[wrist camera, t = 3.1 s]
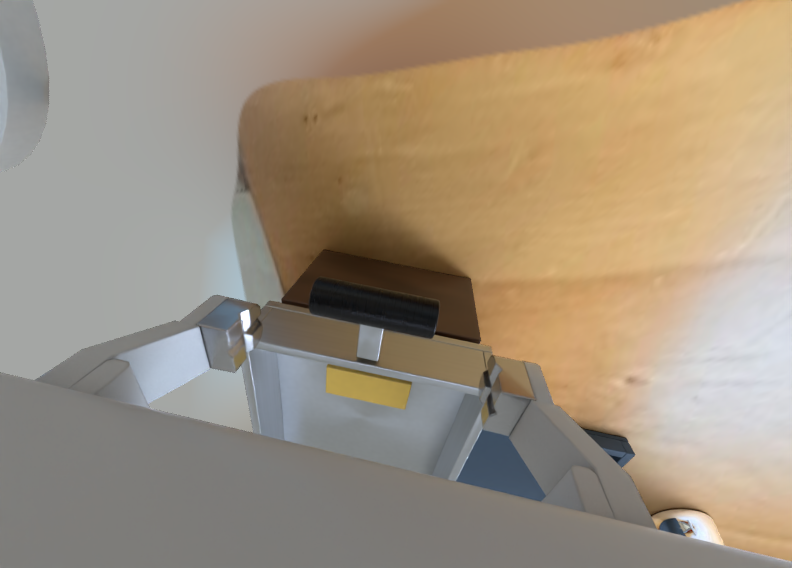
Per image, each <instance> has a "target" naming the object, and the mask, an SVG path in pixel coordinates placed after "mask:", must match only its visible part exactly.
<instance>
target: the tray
mask: <svg viewBox="0 0 792 568" xmlns="http://www.w3.org/2000/svg"><path fill="white" fill-rule="evenodd" d="M583 430H584V431H585V432H586V433H587V434H588V435H589V436H590V437H591V438H592V439H593V440H594V441H595V442H596V443H597V444H598V445H599V446H600V447H601V448H602V449H603V450H604V451H605V452H606V453H607V454H608V455H609V456H610V457H611V458H612V459H613V460H614V461H615V462H616V463H617V464H618V465H619V466H620V467H621V468H622V467H623V466H624V465H625V464H626V463H628V462H629V461H630V460H631V459H632V458H633V457H634V456H635V453H634V452H633V450H632V448H631V446H630V444H629V443H628V440H627V439H626V438H623V437H618V436H614V435H609V434H604V433H600V432H595V431H590V430H586V429H583ZM456 481H457V482H461V483H465V484H469V485H473V486H478V487H482V488H486V489H490V490H494V491H499V492H503V493H507V494H511V495H515V496H519V497H524V498H528V499H532V500H536V501H540V502H541V501H542V500H543V499H544V498H545V497H546V495H545V493H544V492H543V490H542V489H541V487H540V486H539V484H538V482H537V481H536V479H535V478H534V476H533V475H532V473H531V472H530V470H529V468H528V467H527V465H526V464H525V462H524V461H523V459H522V458H521V456H520V454H519V453H518V451H517V450H516V448H515V447H514V445H513V444H512V442H511V441H510V439H509V436H505V435H501V434H497V433H493V432H489V431H485V430H483V429H482V431H481V433H480V435H479V437H478V439H477V441H476V442H475V444H474V446H473V448H472V450H471V452H470V454H469V456H468V458H467V460H466V462H465V464H464V466H463V468H462V470H461V472H460V474H459V476H458V478H457V480H456Z"/></svg>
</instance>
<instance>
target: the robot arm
mask: <svg viewBox="0 0 792 568" xmlns="http://www.w3.org/2000/svg"><path fill="white" fill-rule="evenodd" d="M260 315H261V309H260V306H259V305H258V304H255V303H251V302H246V301H242V300H238V299H234V298H229V297H224V296H220V295H214V296H212V297H210V298H209V299H208V300H207V301H205V302H204V303H203V304H201V305H200V306H199V307H198V308H196V309H195V310H194V311H192V312H191V313H190V314H189V315H187V316H186V317H185V318H183V319H182V320H181V321H180V322H179V321H172V322H169V323H166V324H163V325H160V326H156V327H153V328H150V329H146V330H143V331H140V332H137V333H134V334H131V335H127V336H124V337H121V338H117V339H114V340H111V341H108V342H104V343H101V344H98V345H95V346H91V347H88V348H85V349H82V350H80V351H79V352H77V353H76V354H74V355H73V356H71V357H70V358H68V359H67V360H65V361H63V362H62V363H60V364H59V365H57V366H56V367H54V368H53V369H51V370H50V371H48V372H47V373H45V374H43V375H42V376H40V377H39V378H37V379H36V380H30V379H26V378H22V377H18V376H13V375H9V374H5V373H1V372H0V568H792V561H787V560H783V559H779V558H775V557H771V556H766V555H762V554H758V553H754V552H750V551H745V550H741V549H737V548H733V547H729V546H724V545H720V544H716V543H712V542H707V541H703V540H699V539H695V538H691V537H686V536H682V535H678V534H674V533H670V532H666V531H661V530H657V528H656V526H655V524H654V522H653V520H652V518H651V516H650V514H649V512H648V510H647V508H646V506H645V504H644V502H643V500H642V498H641V496H640V494H639V492H638V490H637V488H636V486H635V484H634V482H633V480H632V478H631V476H630V475H629V474H628V473H627V472H625V471H624V470H623V469H622V468H621V467H620V466H619V465H618V464H617V463H616V462H615V461H614V460H613V459H612V458H611V457H610V456H609V455H608V454H607V453H606V452H605V451H604V450H603V449H602V448H601V447H600V446H599V445H598V444H597V443H596V442H595V441H594V440H593V439H592V438H591V437H590V436H589V435H588V434H587V433H586V432H585V431H584V430H583V429H582V428H581V427H580V426H579V425H578V424H577V423H576V422H575V421H574V420H573V419H572V418H571V417H570V416H569V415H568V414H567V413H566V412H565V411H563V410H562V409H561V408H560V407H559V406H556V405H554V403H553V400H552V398H551V395H550V392H549V390H548V387H547V384H546V382H545V379H544V376H543V374H542V371H541V368H540V366H539V365H538V364H536V363H531V362H525V361H519V360H514V359H509V358H505V357H500V356H495V355H491V356H490V358H489V360H488V362H487V366H488V370H486V371H484V372H483V373H482V376H481V379H480V383H479V400H480V401H481V403H482V404H483V407H482V409H481V411H480V412H481V420H482V428H483V430H485V431H489V432H493V433H497V434H501V435H505V436H509V439H510V441H511V442H512V444H513V445H514V447H515V448H516V450H517V451H518V453H519V454H520V456H521V458H522V459H523V461H524V462H525V464H526V465H527V467H528V468H529V470H530V472H531V473H532V475H533V476H534V478H535V479H536V481H537V482H538V484H539V486H540V487H541V489H542V490H543V492H544V493H545V495H546V497H545V498H544V499H543V500H542V501H541V502H540V501H536V500H532V499H528V498H524V497H519V496H515V495H511V494H507V493H503V492H499V491H494V490H490V489H486V488H482V487H478V486H473V485H469V484H465V483H461V482H457V481H453V480H448V479H444V478H440V477H436V476H432V475H427V474H423V473H419V472H415V471H411V470H406V469H402V468H398V467H394V466H390V465H385V464H381V463H377V462H373V461H368V460H364V459H360V458H356V457H352V456H347V455H343V454H339V453H335V452H331V451H327V450H322V449H318V448H314V447H310V446H306V445H302V444H297V443H293V442H289V441H285V440H281V439H277V438H273V437H268V436H264V435H260V434H256V433H252V432H247V431H243V430H239V429H235V428H230V427H226V426H222V425H218V424H214V423H210V422H205V421H202V420H197V419H193V418H189V417H185V416H181V415H176V414H172V413H168V412H164V411H160V410H155V409H151V408H150V407H149V405H148V404H149V403H150V402H152V401H154V400H156V399H158V398H159V397H161V396H163V395H165V394H167V393H168V392H170V391H172V390H173V389H176V388H177V387H179V386H181V385H183V384H185V383H187V382H188V381H190V380H192V379H194V378H196V377H197V376H199V375H201V374H203V373H205V372H206V371H208V370H210V368H213V369H218V370H223V371H228V372H233V373H235V372H236V371H237V370H238V369H239V367H240V366H241V365H242V364H243V362H244V361H245V360H246V359H247V357H246V353H247V352H249V351H252V350H254V349H255V348H256V346H257V345H258V344H259V342H260V339H261V337H262V332H263V325H262V323H261V321H260V320H259V319H258V317H259V316H260Z"/></svg>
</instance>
